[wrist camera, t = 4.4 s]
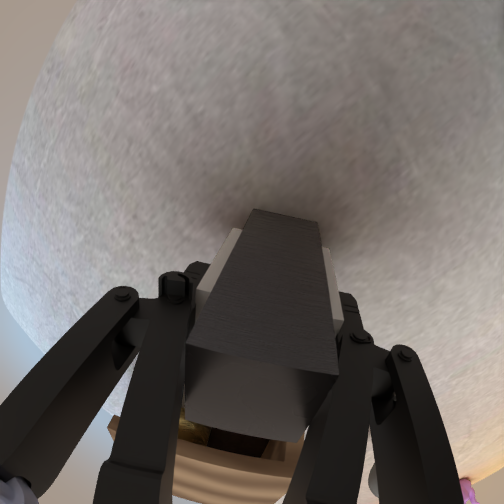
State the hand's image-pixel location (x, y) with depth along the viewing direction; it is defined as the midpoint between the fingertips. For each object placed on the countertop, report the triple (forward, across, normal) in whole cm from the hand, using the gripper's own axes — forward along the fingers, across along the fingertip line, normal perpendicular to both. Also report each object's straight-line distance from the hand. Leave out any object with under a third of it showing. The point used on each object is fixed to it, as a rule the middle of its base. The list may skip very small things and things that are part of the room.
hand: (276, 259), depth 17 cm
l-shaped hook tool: (+2, 0, -9) cm, 9 cm away
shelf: (+2, -2, -24) cm, 24 cm away
